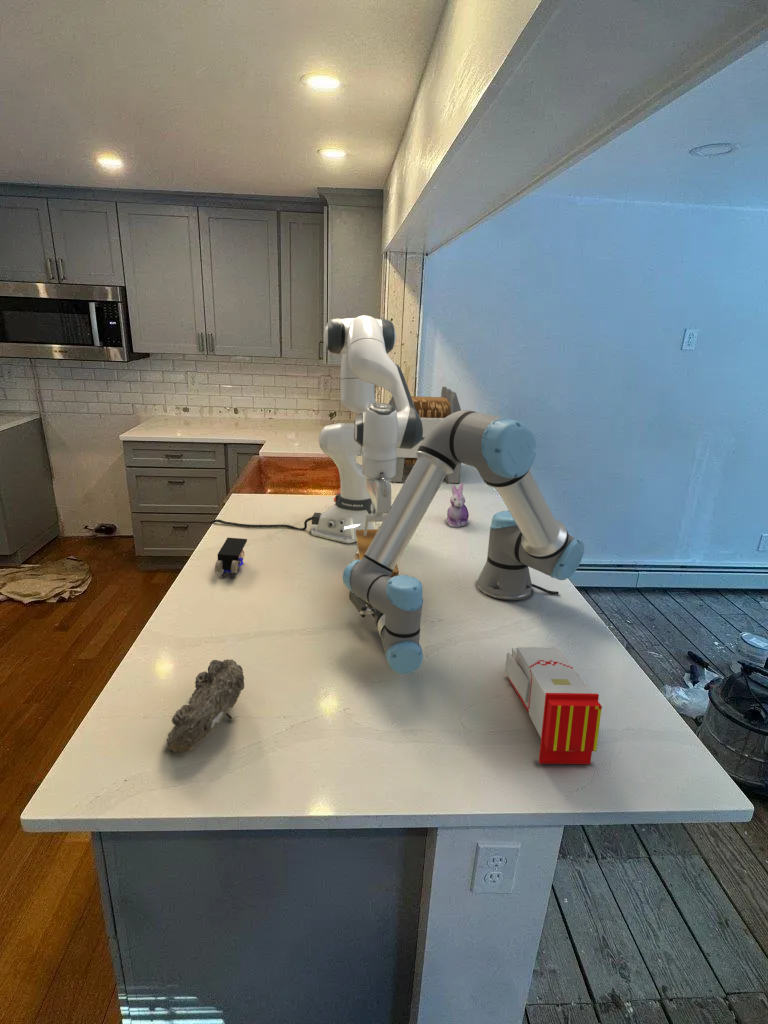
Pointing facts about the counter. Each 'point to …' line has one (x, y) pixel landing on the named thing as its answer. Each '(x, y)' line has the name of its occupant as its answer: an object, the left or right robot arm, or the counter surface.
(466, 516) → the figurine
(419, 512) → the right robot arm
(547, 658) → the toy
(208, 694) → the grey brown lumpy piece
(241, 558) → the figurine character
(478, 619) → the counter surface
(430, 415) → the transformer
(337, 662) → the counter surface
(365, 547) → the lid
